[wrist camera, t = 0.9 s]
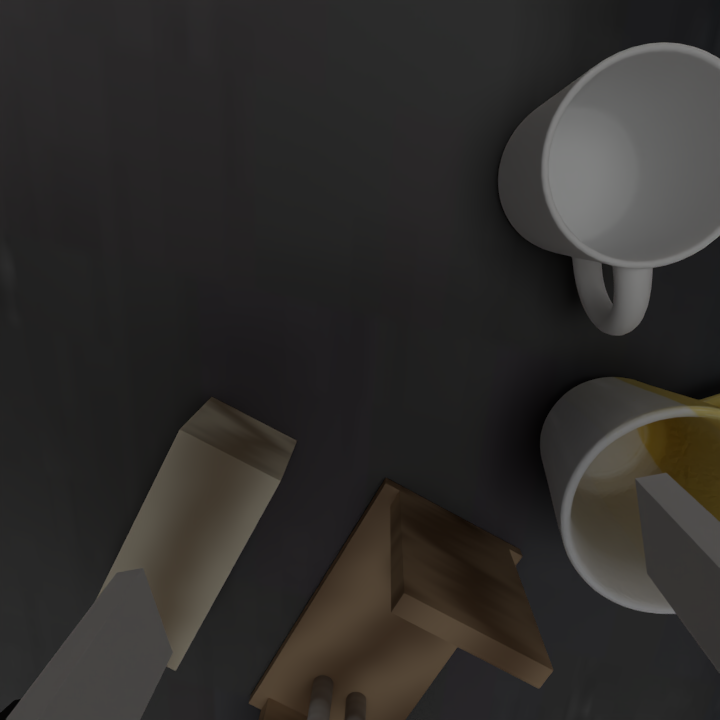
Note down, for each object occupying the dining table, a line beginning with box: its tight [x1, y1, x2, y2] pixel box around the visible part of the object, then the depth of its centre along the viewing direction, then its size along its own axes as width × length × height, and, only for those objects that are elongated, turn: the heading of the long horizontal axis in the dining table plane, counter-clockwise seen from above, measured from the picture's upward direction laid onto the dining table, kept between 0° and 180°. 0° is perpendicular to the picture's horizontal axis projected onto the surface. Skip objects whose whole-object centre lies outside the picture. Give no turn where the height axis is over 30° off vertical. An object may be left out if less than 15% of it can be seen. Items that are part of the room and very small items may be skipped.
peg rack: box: [249, 478, 553, 720], centre depth 34 cm, size 10×19×11 cm, turn 151°
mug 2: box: [540, 377, 720, 614], centre depth 30 cm, size 14×10×10 cm
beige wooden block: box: [96, 397, 297, 671], centre depth 36 cm, size 6×14×6 cm, turn 152°
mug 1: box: [498, 43, 720, 336], centre depth 28 cm, size 12×8×10 cm
